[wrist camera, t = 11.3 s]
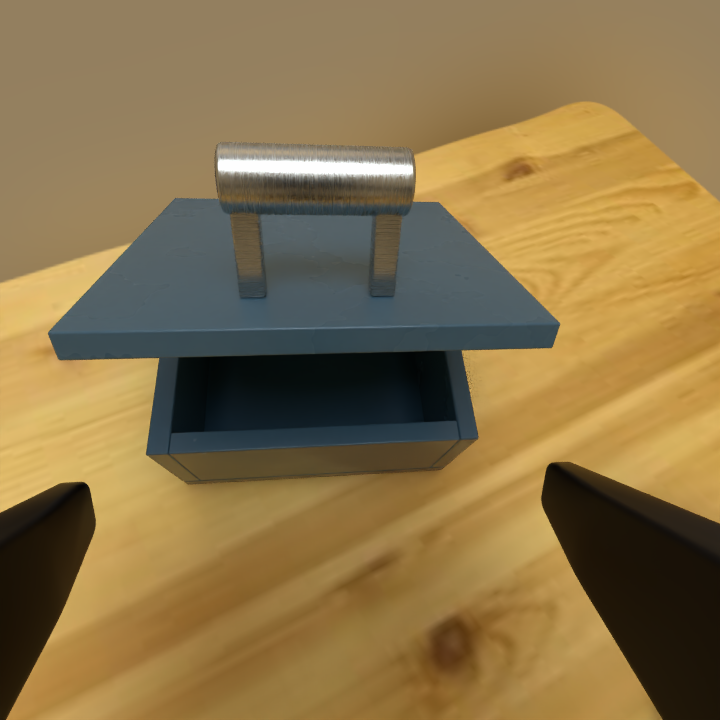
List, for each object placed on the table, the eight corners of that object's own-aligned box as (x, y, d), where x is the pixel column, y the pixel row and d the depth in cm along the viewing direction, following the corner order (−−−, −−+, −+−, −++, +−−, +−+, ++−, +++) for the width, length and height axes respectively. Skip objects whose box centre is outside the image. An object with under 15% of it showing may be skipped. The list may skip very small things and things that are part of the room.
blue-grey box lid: (553, 349, 12) (614, 168, 9) (57, 361, 11) (-29, 151, 8) (436, 218, 22) (451, 114, 20) (177, 215, 21) (156, 102, 18)
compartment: (441, 470, 23) (479, 438, 17) (186, 484, 21) (145, 455, 16) (413, 284, 28) (435, 216, 22) (205, 285, 26) (178, 213, 21)
